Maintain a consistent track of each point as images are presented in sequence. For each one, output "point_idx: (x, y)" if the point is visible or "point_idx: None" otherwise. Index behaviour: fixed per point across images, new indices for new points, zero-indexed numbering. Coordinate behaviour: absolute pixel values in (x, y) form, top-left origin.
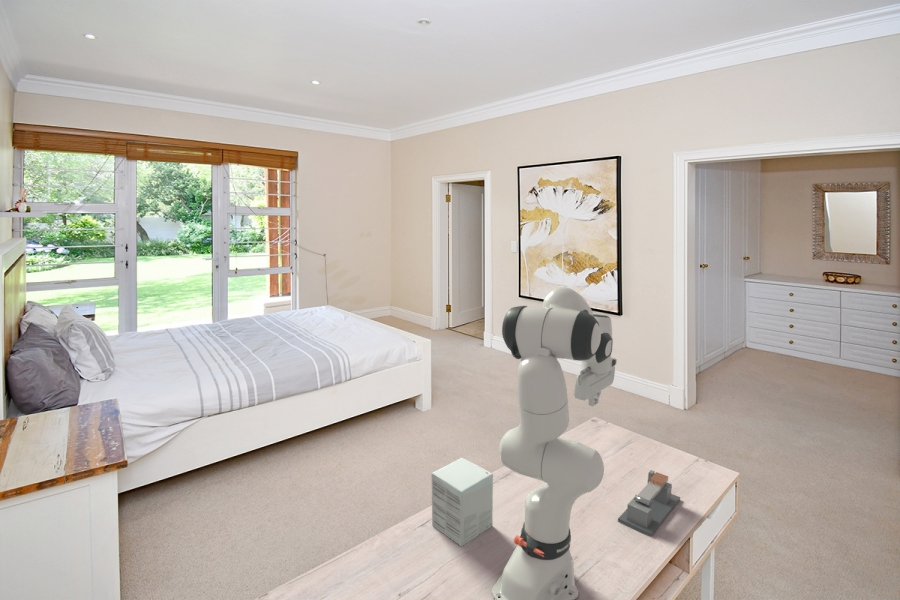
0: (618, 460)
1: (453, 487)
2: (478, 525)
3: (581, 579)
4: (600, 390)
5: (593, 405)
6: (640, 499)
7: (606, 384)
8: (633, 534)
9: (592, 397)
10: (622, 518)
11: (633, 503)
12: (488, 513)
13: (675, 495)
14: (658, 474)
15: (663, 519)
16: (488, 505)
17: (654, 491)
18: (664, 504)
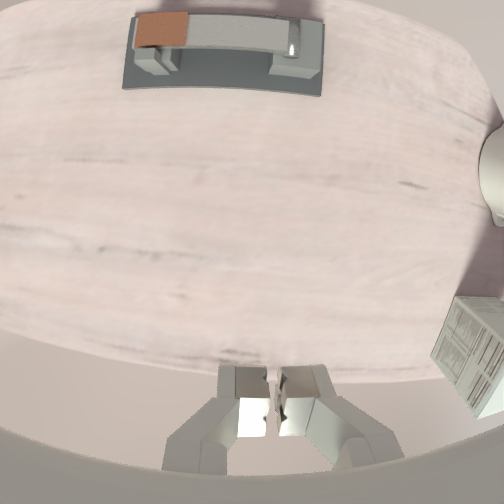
0: (60, 206)
1: None
2: (488, 304)
3: (486, 119)
4: (259, 484)
5: (324, 367)
6: (299, 40)
7: (45, 488)
8: (339, 57)
9: (389, 434)
10: (314, 87)
11: (306, 58)
12: (478, 309)
13: (130, 27)
14: (144, 36)
15: (248, 15)
16: (488, 317)
17: (234, 20)
18: None
